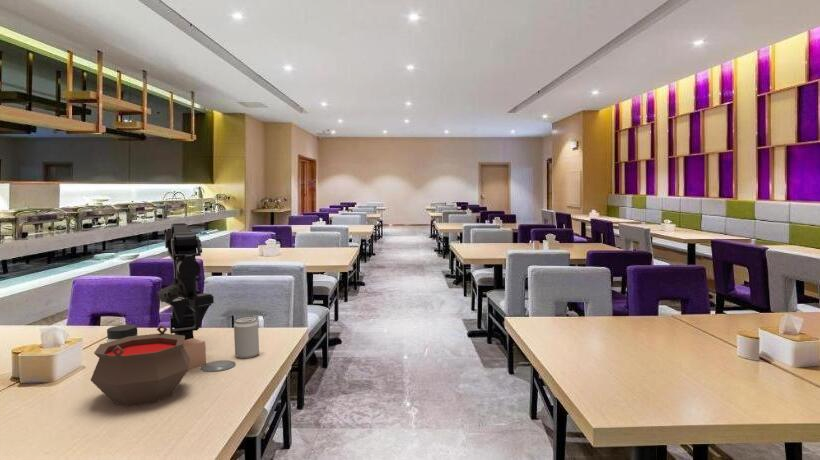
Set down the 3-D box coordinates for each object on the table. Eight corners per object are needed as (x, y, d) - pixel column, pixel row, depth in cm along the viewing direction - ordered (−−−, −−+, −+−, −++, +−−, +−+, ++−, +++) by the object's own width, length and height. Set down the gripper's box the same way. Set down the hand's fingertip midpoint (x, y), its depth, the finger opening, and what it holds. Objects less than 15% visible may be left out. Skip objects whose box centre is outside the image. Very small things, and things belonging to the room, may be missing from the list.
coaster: (193, 368, 160) (193, 366, 160) (222, 359, 168) (222, 358, 168) (213, 374, 154) (213, 372, 154) (242, 364, 162) (242, 363, 162)
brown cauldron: (125, 380, 151) (122, 323, 150) (208, 379, 150) (206, 322, 149) (68, 414, 127) (64, 347, 126) (167, 414, 126) (164, 346, 125)
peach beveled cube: (172, 365, 163) (171, 343, 162) (193, 360, 168) (192, 338, 168) (185, 370, 159) (184, 346, 158) (206, 363, 164) (205, 341, 164)
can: (252, 359, 168) (250, 322, 167) (230, 358, 169) (229, 321, 168) (263, 352, 175) (262, 316, 174) (242, 351, 177) (241, 316, 176)
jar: (137, 368, 161) (135, 329, 160) (106, 372, 158) (104, 332, 157) (140, 360, 169) (139, 323, 168) (111, 363, 166) (109, 325, 165)
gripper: (144, 275, 161) (146, 326, 162) (179, 280, 150) (181, 335, 151) (178, 271, 170) (180, 319, 171) (213, 275, 159) (216, 327, 160)
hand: (188, 325), depth 163 cm, fingers open, 9 cm apart
